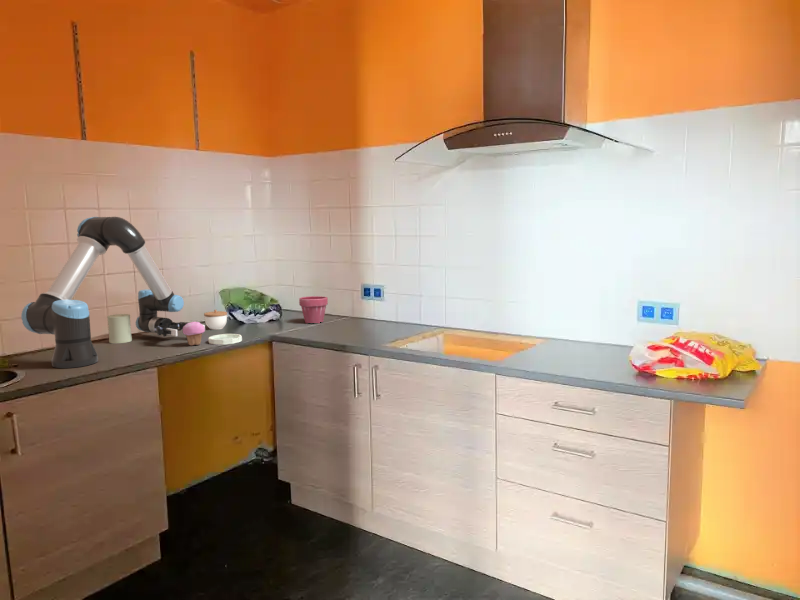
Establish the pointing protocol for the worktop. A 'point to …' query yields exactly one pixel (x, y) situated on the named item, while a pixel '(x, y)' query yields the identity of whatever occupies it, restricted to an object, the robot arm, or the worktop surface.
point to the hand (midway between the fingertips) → (190, 330)
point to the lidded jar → (215, 319)
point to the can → (119, 328)
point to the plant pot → (313, 308)
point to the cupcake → (193, 332)
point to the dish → (225, 339)
